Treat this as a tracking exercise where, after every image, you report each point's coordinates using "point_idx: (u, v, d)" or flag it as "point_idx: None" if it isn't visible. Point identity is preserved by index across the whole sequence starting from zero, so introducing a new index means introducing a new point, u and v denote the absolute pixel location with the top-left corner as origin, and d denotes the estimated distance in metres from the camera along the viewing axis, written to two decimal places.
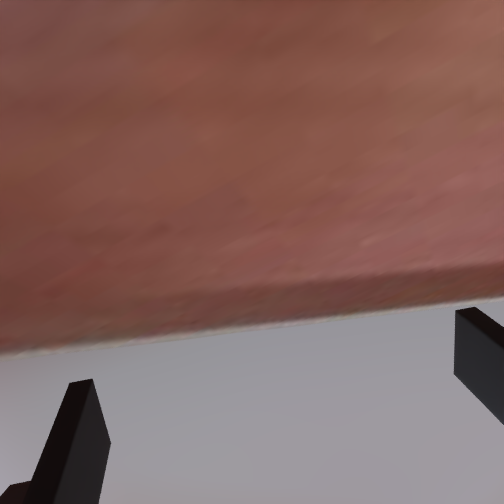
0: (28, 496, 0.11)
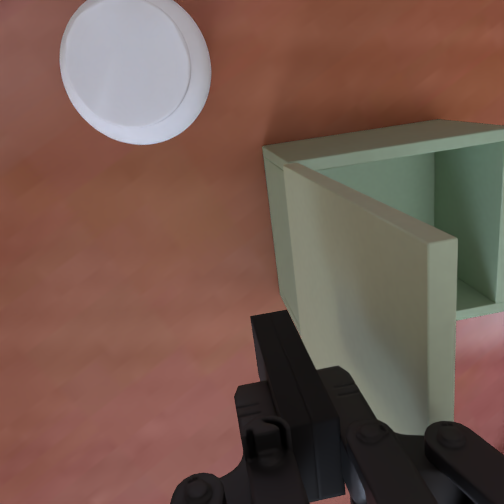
0: (275, 385, 0.14)
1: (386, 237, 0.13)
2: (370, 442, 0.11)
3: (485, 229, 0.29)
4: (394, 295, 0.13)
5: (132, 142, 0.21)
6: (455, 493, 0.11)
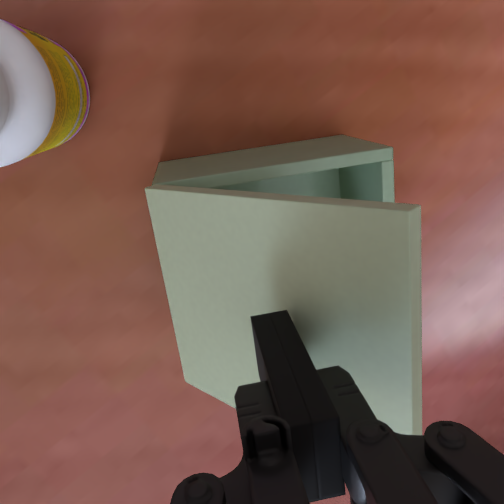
0: (274, 385, 0.14)
1: (347, 219, 0.15)
2: (369, 441, 0.11)
3: None
4: (360, 268, 0.15)
5: None
6: (455, 493, 0.11)
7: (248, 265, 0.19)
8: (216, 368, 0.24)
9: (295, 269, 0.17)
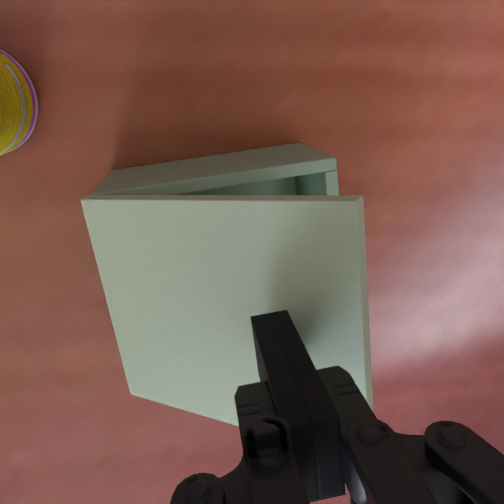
0: (274, 385, 0.14)
1: (299, 213, 0.17)
2: (370, 442, 0.11)
3: None
4: (313, 256, 0.17)
5: None
6: (455, 493, 0.11)
7: (200, 266, 0.20)
8: (166, 374, 0.24)
9: (249, 264, 0.19)
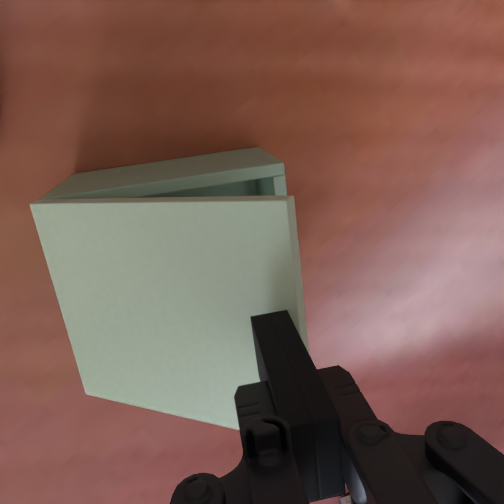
0: (274, 385, 0.14)
1: (236, 212, 0.18)
2: (370, 442, 0.11)
3: None
4: (250, 252, 0.18)
5: None
6: (455, 493, 0.11)
7: (147, 265, 0.21)
8: (120, 372, 0.24)
9: (193, 262, 0.20)
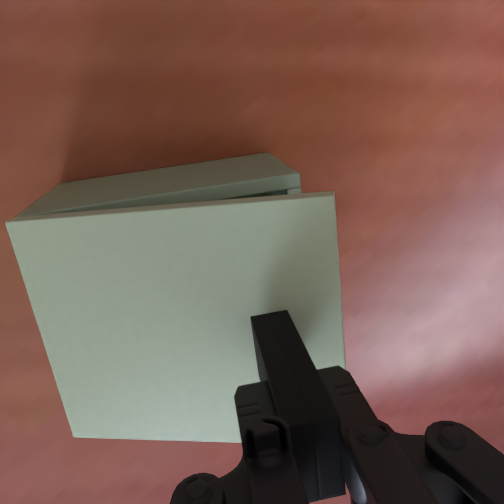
0: (274, 385, 0.14)
1: (276, 212, 0.17)
2: (370, 442, 0.11)
3: None
4: (291, 253, 0.18)
5: None
6: (455, 493, 0.11)
7: (164, 279, 0.19)
8: (122, 404, 0.22)
9: (222, 270, 0.18)
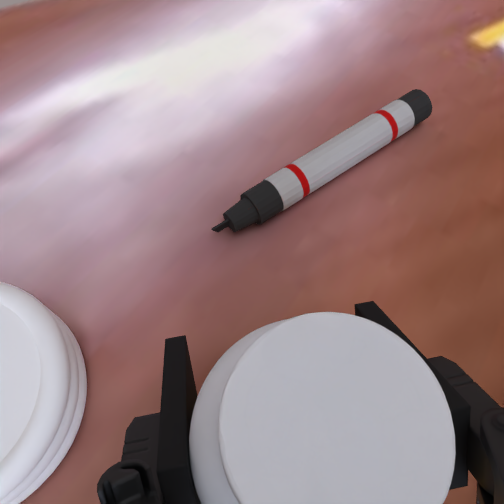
0: (163, 420, 0.13)
1: None
2: None
3: None
4: None
5: None
6: None
7: None
8: None
9: None
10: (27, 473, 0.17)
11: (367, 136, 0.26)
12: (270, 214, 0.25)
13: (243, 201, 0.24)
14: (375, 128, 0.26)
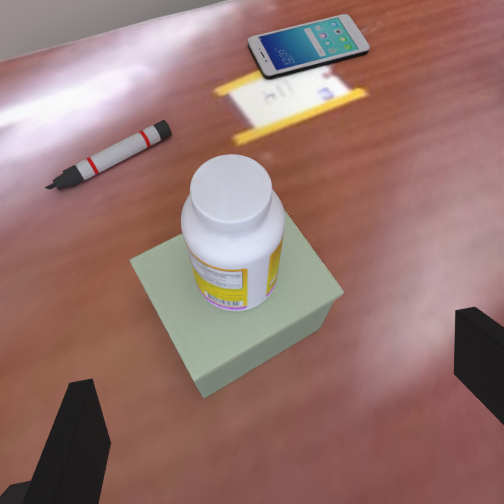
0: (28, 496, 0.11)
1: None
2: None
3: None
4: None
5: (246, 259, 0.28)
6: None
7: None
8: (217, 334, 0.35)
9: None
10: None
11: (129, 143, 0.52)
12: (75, 181, 0.51)
13: (62, 174, 0.51)
14: (134, 140, 0.52)
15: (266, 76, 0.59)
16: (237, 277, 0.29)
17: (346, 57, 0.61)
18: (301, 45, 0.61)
